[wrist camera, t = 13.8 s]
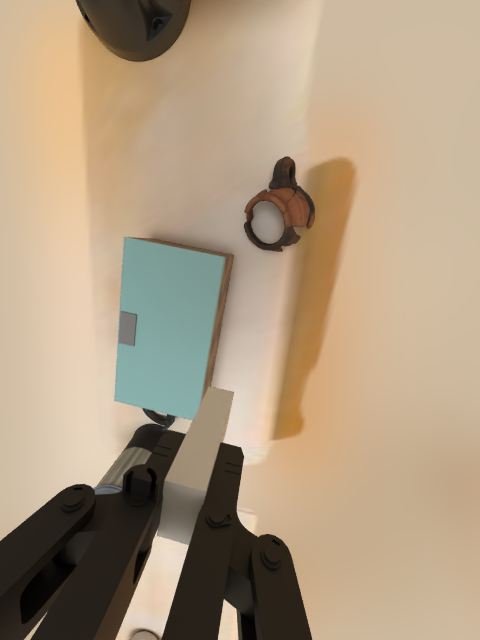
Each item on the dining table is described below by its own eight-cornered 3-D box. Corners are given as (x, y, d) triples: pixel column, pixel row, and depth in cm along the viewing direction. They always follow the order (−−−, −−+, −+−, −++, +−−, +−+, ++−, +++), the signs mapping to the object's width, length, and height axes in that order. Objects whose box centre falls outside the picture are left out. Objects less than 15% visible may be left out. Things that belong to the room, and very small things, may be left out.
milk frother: (147, 465, 57) (105, 537, 43) (108, 405, 54) (50, 461, 40) (204, 447, 54) (179, 518, 40) (167, 381, 51) (125, 433, 37)
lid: (128, 237, 37) (122, 236, 36) (225, 257, 36) (223, 257, 35) (118, 396, 45) (113, 401, 43) (199, 416, 44) (196, 422, 42)
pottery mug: (317, 244, 42) (296, 259, 36) (264, 239, 47) (238, 252, 41) (324, 153, 36) (300, 154, 30) (263, 159, 40) (231, 160, 35)
